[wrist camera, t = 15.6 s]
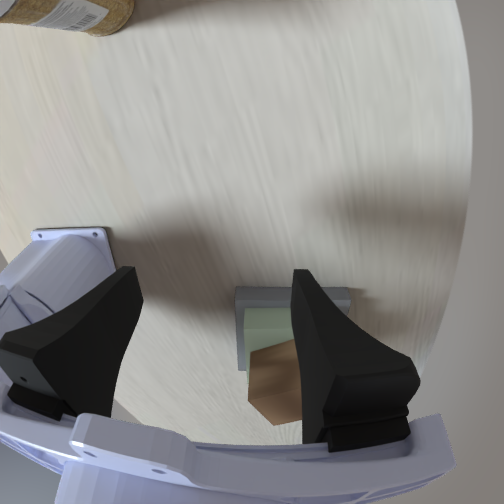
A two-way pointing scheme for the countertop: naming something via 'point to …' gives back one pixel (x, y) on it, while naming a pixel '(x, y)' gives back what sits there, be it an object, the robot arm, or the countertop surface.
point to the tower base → (274, 299)
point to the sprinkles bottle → (69, 14)
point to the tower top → (265, 329)
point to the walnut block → (276, 383)
